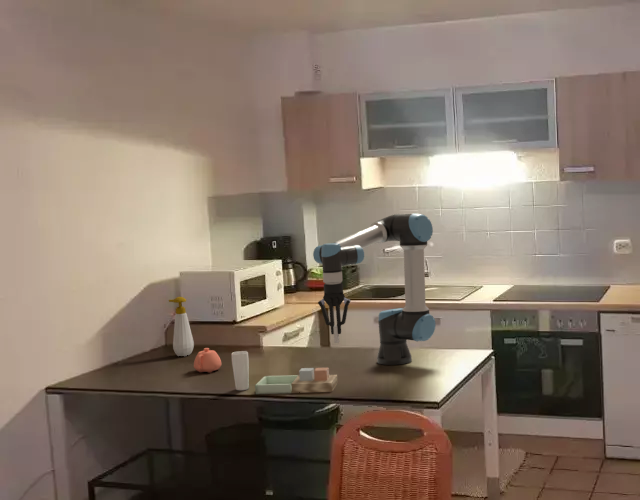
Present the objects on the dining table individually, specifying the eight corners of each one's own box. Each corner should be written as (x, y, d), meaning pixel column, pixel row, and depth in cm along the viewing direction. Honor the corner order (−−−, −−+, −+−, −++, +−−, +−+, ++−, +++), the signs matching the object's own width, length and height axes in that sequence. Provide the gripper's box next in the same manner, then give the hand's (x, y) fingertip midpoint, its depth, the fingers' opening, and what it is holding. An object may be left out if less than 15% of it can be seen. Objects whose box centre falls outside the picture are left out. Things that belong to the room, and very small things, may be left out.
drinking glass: (234, 388, 378) (231, 351, 376) (250, 386, 378) (248, 350, 377) (233, 391, 371) (231, 354, 370) (250, 390, 372) (248, 353, 370)
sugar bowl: (226, 368, 418) (225, 345, 418) (210, 375, 406) (208, 352, 405) (203, 367, 424) (202, 345, 423) (186, 374, 411) (185, 351, 410)
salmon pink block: (329, 377, 370) (328, 367, 369) (327, 380, 365) (326, 370, 364) (316, 377, 371) (316, 367, 370) (314, 380, 366) (313, 370, 365)
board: (337, 383, 374) (337, 374, 374) (332, 391, 360) (331, 382, 360) (298, 384, 377) (298, 375, 377) (291, 392, 363) (291, 383, 363)
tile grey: (314, 377, 371) (313, 367, 370) (312, 380, 366) (311, 370, 366) (302, 378, 372) (301, 368, 371) (299, 381, 367) (299, 371, 367)
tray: (298, 383, 378) (298, 375, 378) (290, 393, 362) (289, 384, 362) (265, 384, 381) (264, 376, 380) (255, 394, 365) (255, 385, 365)
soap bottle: (181, 352, 463) (176, 294, 461) (198, 353, 459) (194, 294, 456) (166, 357, 452) (161, 298, 449) (183, 358, 447) (178, 298, 445)
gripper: (350, 280, 366) (354, 340, 368) (318, 282, 368) (322, 341, 370) (348, 283, 358) (351, 343, 360) (314, 284, 361) (318, 344, 363)
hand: (336, 342), depth 365 cm, fingers closed
